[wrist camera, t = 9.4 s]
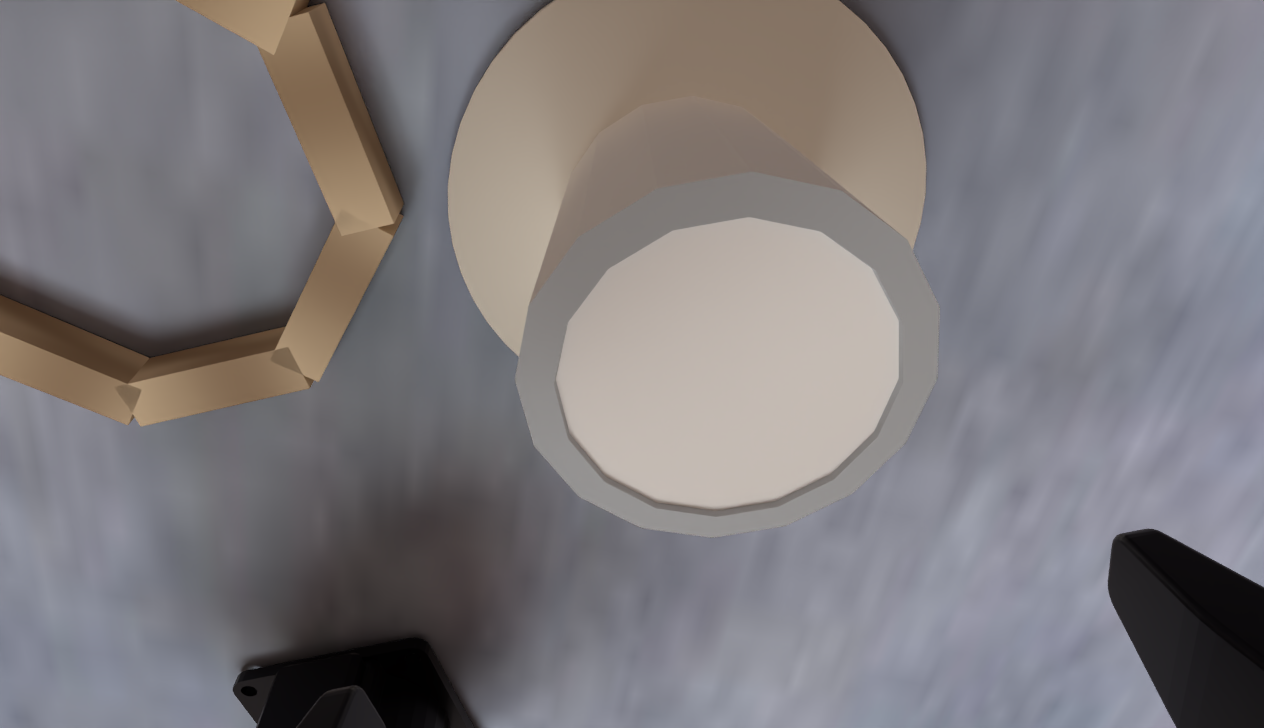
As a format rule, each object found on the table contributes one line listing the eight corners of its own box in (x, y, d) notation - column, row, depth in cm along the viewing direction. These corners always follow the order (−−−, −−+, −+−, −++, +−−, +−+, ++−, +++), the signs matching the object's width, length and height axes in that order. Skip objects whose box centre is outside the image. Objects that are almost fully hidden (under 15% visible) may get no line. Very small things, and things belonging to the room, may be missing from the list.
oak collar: (454, 332, 21) (448, 356, 20) (36, 427, 22) (10, 456, 21) (244, -201, 15) (220, -205, 14) (-319, -43, 16) (-380, -36, 15)
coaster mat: (928, 356, 22) (934, 364, 22) (528, 443, 23) (527, 451, 23) (908, -109, 16) (915, -108, 16) (375, 28, 17) (371, 32, 17)
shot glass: (743, 383, 22) (805, 582, 16) (493, 291, 20) (455, 477, 14) (889, 143, 19) (1035, 279, 13) (607, 9, 17) (621, 94, 11)
